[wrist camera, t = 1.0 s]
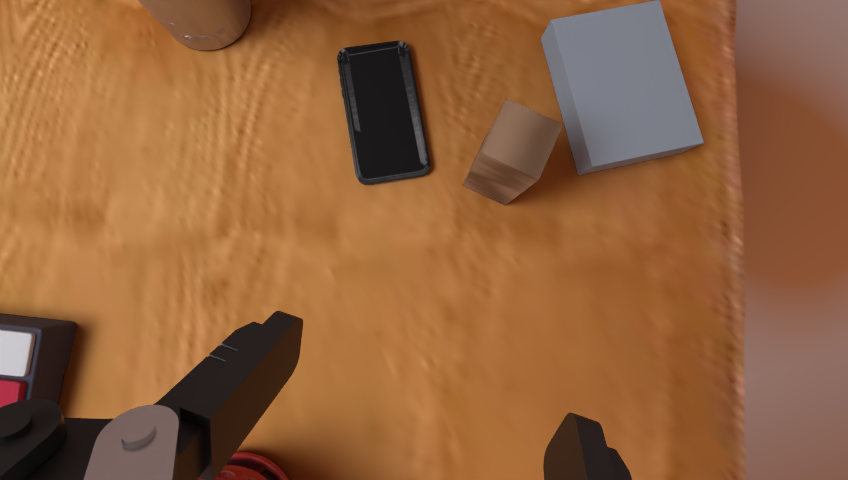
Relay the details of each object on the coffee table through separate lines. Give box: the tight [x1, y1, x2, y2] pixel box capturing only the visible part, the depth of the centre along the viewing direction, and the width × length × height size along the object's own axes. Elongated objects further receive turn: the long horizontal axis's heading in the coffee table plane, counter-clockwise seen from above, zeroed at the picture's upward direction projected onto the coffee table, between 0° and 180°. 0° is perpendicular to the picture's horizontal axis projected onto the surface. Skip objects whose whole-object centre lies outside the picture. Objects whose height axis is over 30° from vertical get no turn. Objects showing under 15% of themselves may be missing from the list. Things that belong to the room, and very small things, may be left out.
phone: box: [337, 41, 430, 185], centre depth 39 cm, size 8×1×15 cm
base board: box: [541, 0, 704, 175], centre depth 39 cm, size 16×12×3 cm
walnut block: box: [462, 98, 563, 205], centre depth 34 cm, size 5×5×10 cm
